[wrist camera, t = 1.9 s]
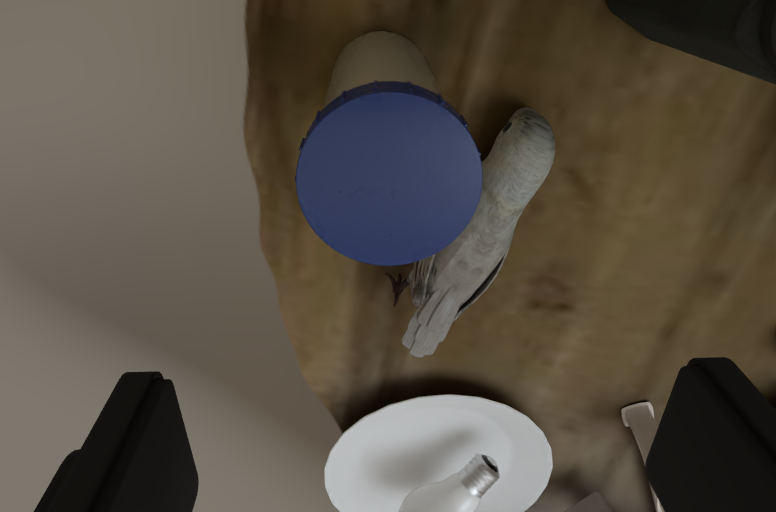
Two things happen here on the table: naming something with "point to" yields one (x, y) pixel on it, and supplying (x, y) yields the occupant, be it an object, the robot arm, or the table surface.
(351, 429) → the plate
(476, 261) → the decorative bird
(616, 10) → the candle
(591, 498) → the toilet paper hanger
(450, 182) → the lid
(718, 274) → the table surface
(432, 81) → the jar
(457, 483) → the lightbulb
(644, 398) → the table surface
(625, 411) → the toilet paper hanger
